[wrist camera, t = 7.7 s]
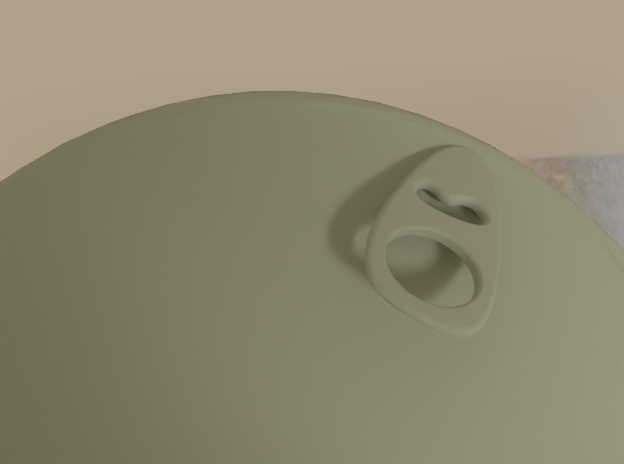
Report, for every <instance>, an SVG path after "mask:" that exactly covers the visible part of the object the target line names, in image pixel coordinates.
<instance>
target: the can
mask: <svg viewBox="0 0 624 464" xmlns="http://www.w3.org/2000/svg"><path fill="white" fill-rule="evenodd" d="M0 464H624V250H623V249H622V248H621V247H620V246H619V245H618V244H617V243H616V242H615V241H614V240H613V239H612V238H611V236H610V235H609V234H608V233H607V232H606V231H605V230H604V229H603V228H602V227H601V226H600V225H599V224H598V223H597V222H596V221H594V220H593V219H592V218H591V217H590V216H589V215H588V214H587V213H586V212H584V211H583V210H582V209H581V208H580V207H579V206H578V205H577V204H576V203H574V202H573V201H572V200H570V199H569V198H568V197H567V196H565V195H564V194H563V193H562V192H560V191H559V190H558V189H557V188H555V187H554V186H553V185H551V184H550V183H549V182H547V181H546V180H544V179H543V178H542V177H540V176H539V175H537V174H536V173H534V172H533V171H531V170H530V169H529V168H527V167H526V166H524V165H523V164H521V163H520V162H518V161H517V160H515V159H513V158H512V157H510V156H508V155H507V154H505V153H503V152H501V151H500V150H498V149H496V148H495V147H493V146H491V145H489V144H487V143H485V142H483V141H481V140H479V139H477V138H475V137H473V136H471V135H469V134H467V133H465V132H463V131H461V130H458V129H455V128H453V127H450V126H448V125H446V124H443V123H441V122H438V121H436V120H433V119H431V118H428V117H426V116H423V115H420V114H416V113H413V112H409V111H406V110H402V109H399V108H395V107H392V106H389V105H385V104H382V103H378V102H374V101H368V100H362V99H356V98H351V97H345V96H339V95H334V94H323V93H309V92H297V91H251V92H242V93H234V94H233V93H232V94H224V95H215V96H208V97H202V98H197V99H192V100H186V101H182V102H177V103H172V104H168V105H164V106H161V107H158V108H154V109H151V110H147V111H144V112H141V113H137V114H134V115H131V116H128V117H126V118H123V119H120V120H118V121H114V122H112V123H109V124H106V125H104V126H102V127H99V128H97V129H95V130H93V131H91V132H88V133H86V134H84V135H82V136H79V137H77V138H75V139H73V140H71V141H68V142H66V143H64V144H62V145H60V146H58V147H57V148H55V149H53V150H52V151H50V152H48V153H46V154H45V155H43V156H41V157H40V158H38V159H36V160H34V161H33V162H31V163H29V164H28V165H26V166H24V167H23V168H21V169H19V170H18V171H16V172H15V173H13V174H12V175H10V176H9V177H7V178H6V179H4V180H3V181H1V182H0Z"/></svg>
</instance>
